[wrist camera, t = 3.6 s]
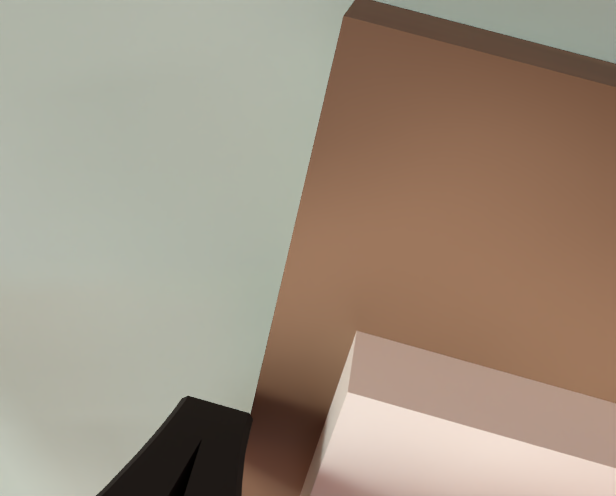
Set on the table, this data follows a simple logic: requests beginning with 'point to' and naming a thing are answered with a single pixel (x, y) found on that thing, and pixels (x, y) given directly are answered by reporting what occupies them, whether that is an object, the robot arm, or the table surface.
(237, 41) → the table surface
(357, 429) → the tile
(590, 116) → the deck
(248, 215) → the table surface
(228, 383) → the table surface
